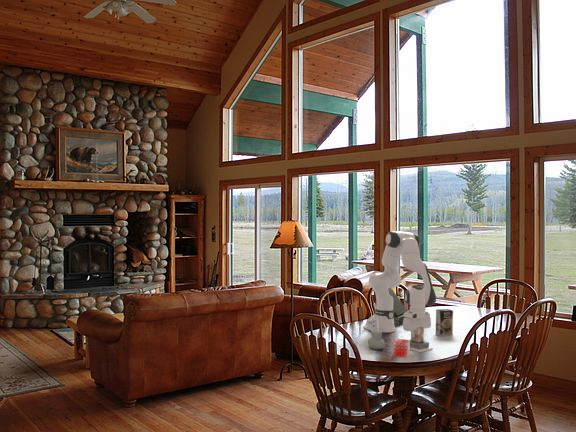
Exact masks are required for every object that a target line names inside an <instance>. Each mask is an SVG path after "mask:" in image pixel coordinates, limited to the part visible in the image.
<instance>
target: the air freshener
mask: <svg viewBox="0 0 576 432" xmlns="http://www.w3.org/2000/svg"><path fill="white" fill-rule="evenodd" d="M382 336H383V332H381V331H378V330H374V331H371V338H369V339H368V341H367V344H368V348H370V349H372V350H377V351H378V350H379V351H380V350H382V349H384V348H385V347H386V340H385V339H383V337H382Z"/></svg>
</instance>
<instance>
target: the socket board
mask: <svg viewBox="0 0 576 432" xmlns="http://www.w3.org/2000/svg"><path fill="white" fill-rule="evenodd" d="M409 340H410V350H411V351H414V352H418V353H422V352H427V351H432V350H434V347H432V346H431V347H430V342H429V341H425V340H424V341H423V343H415V342H412V341H411V339H409Z"/></svg>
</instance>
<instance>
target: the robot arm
mask: <svg viewBox="0 0 576 432" xmlns="http://www.w3.org/2000/svg"><path fill="white" fill-rule="evenodd" d="M420 241H421V239H420V237H419V235H418V234H417V233H414V232H408V231H395V230H391V231H388V232H387V234H386V235H385V244H386V245H385V248H384V250H383V255H382V259H381V265H382V266H383V267H384V269H383V271H382V272H376V273H372V274H371V275H370V276H369V278H368V284H369V286H370V288H372V290H373V292H374V293H375V294H374V295H375V297H376V298H375V299H376V301H375V302H376V303H375V304H376V308H375V309H373V312H374V315H373V314H372V315H371V316H370V317H369V318H368V319H367V321H366V325H363V329H366V330H369V331H371V332H372V331H374V330H378V331H381V332H382V333H394V332H396V326H394V317H393V315H394V310H393V297H392V296H391V295H390V294H389V292H388V288H391V289H394V288H396V287H398V286H400V285H401V283H402V276H401V274H400V273H399V263H400V259H401V261H402V262H401V263H402V265H403V266H404V268H406V269H407V270H409V271H411V272H414V273H416V274H419V276H421V278H422V282H423V284H424V286H423V285H421V284H413V285H411V286H410V288H409V289H406V291H405V292H404V302H405V303H406V304H407V305H409V309H407V312H405V313H404V314H403V316H404V317H405V318H404V320H403V325H402V328H403V329H402V330H403V331H404V332H410V335H411V334H412V338H416V335H415V333H414V332H415V330H417V328H420V327H424V330H425V329H429V328H431V327H432V321H431V315H430V312H428V311H426V307H432V306H433V305H434V304H435V303H436V302H437V295H436V291H435V289H434V286H433V283H432V279H431V276H430V272H429V268H428V266H427V264H426V263H424V262H423V260H422V258H421V254H420V247H419V246H420Z"/></svg>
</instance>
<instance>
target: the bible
mask: <svg viewBox="0 0 576 432" xmlns="http://www.w3.org/2000/svg"><path fill="white" fill-rule="evenodd" d="M388 292H389V294H390V295H391V296H392V297H393V310H394V315H393V317H394V326H395V327H396V326H397V327H400V326H403V320H404V318H405V317H404V316H403V314H404V313H405V312H407V311H408V309H407V308H406V306H405V305H404V304H403V302H402V301H401V300H400V298H399V297H398V295H397V294H396V293H395V292H394V290H393V288H388ZM373 315H374V314H372V316H373Z"/></svg>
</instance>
